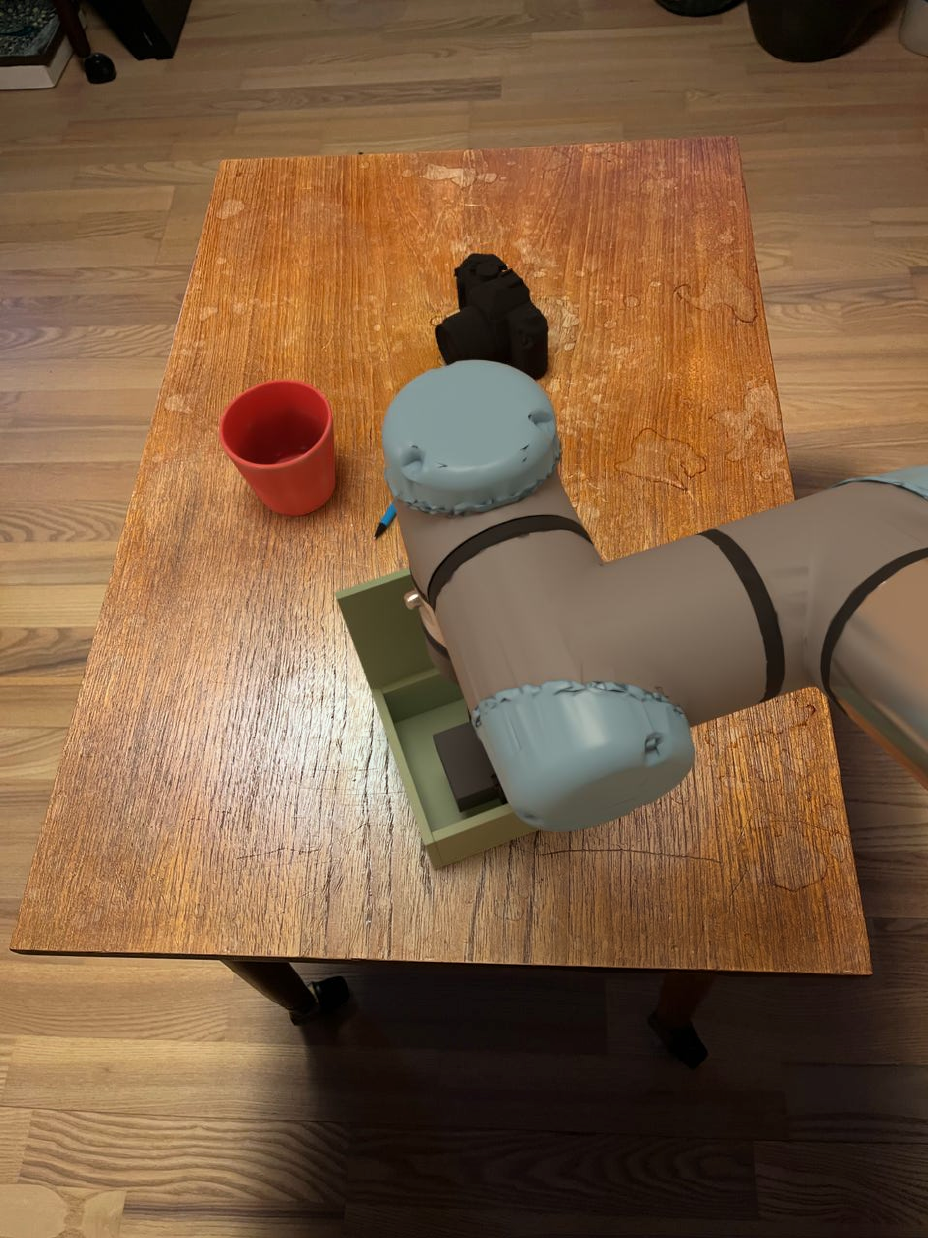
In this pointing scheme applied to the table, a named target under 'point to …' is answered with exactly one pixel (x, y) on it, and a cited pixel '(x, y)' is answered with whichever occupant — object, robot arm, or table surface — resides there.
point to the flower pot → (282, 444)
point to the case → (438, 769)
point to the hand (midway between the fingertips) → (502, 759)
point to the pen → (385, 520)
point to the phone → (466, 766)
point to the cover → (385, 628)
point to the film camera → (494, 319)
